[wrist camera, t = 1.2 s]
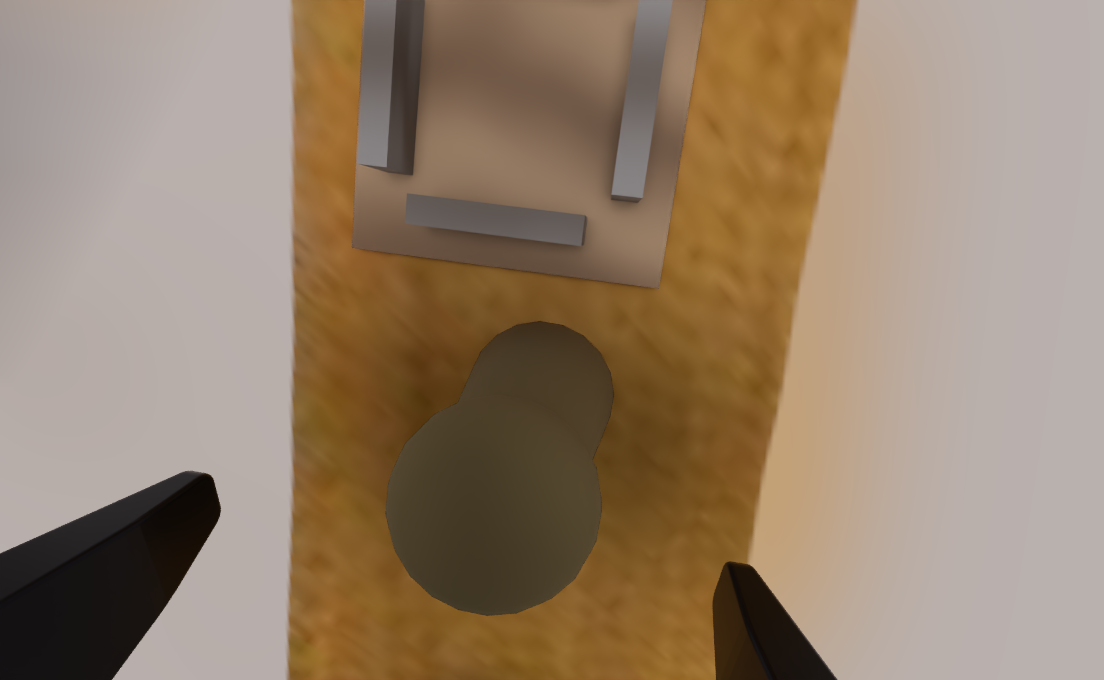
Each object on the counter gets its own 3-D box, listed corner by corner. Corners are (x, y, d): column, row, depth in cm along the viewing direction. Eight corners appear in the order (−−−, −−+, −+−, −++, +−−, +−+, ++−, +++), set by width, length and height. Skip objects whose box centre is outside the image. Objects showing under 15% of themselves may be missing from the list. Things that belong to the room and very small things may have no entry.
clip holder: (656, 286, 21) (666, 296, 18) (361, 247, 22) (318, 249, 19) (713, -58, 18) (735, -121, 15) (378, -87, 19) (332, -151, 16)
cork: (471, 459, 23) (355, 653, 12) (466, 320, 22) (332, 402, 11) (613, 464, 22) (619, 672, 12) (614, 321, 21) (623, 408, 11)
